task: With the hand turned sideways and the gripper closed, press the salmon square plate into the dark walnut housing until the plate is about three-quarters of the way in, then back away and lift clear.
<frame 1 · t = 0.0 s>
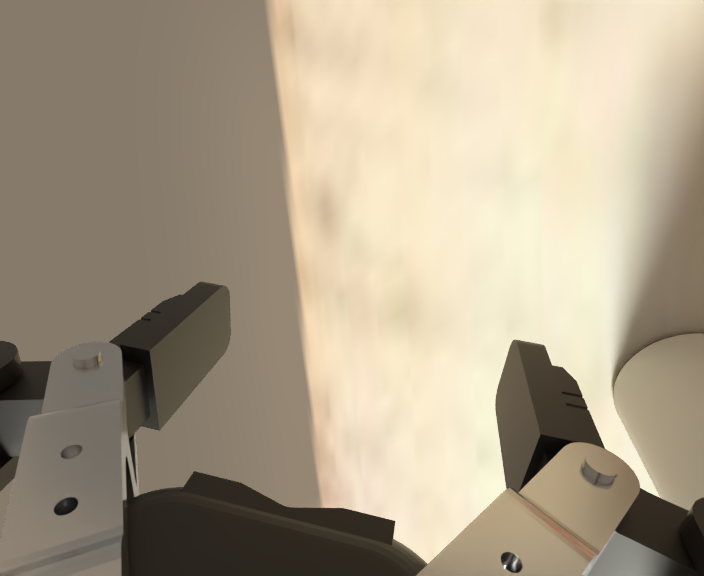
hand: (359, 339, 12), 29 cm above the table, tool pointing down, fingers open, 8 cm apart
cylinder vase: (682, 385, 42), on the table
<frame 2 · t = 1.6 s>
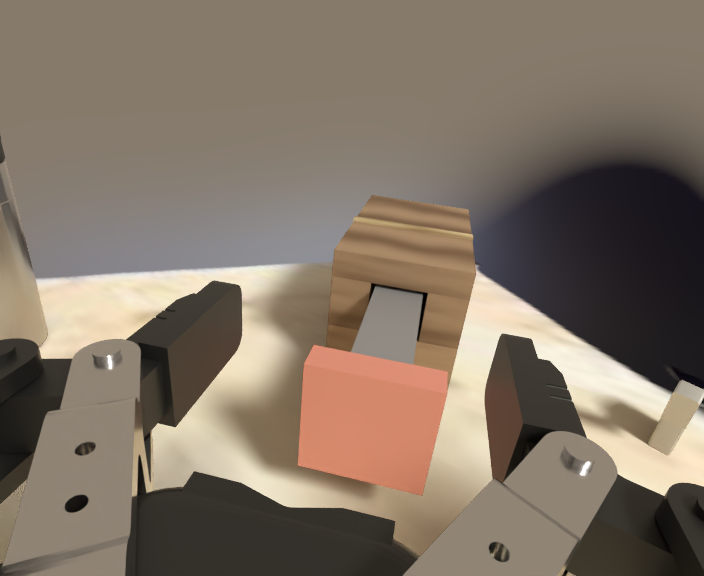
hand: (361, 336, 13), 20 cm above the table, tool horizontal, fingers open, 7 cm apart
lighter: (658, 448, 39), on the table
salmon square plate: (387, 342, 35), point 8 cm above the table, slide at 0.0 cm
housing: (395, 331, 52), on the table
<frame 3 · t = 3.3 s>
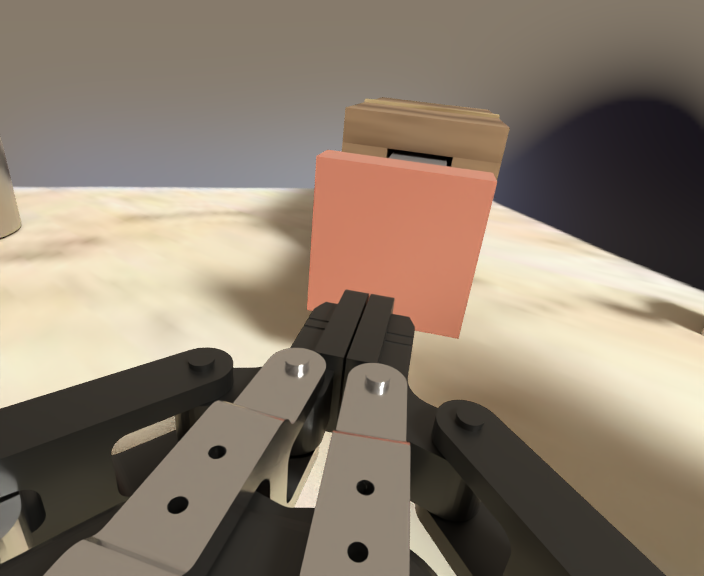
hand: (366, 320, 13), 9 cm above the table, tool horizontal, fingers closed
salmon square plate: (409, 201, 30), point 8 cm above the table, slide at 0.0 cm
housing: (409, 239, 47), on the table
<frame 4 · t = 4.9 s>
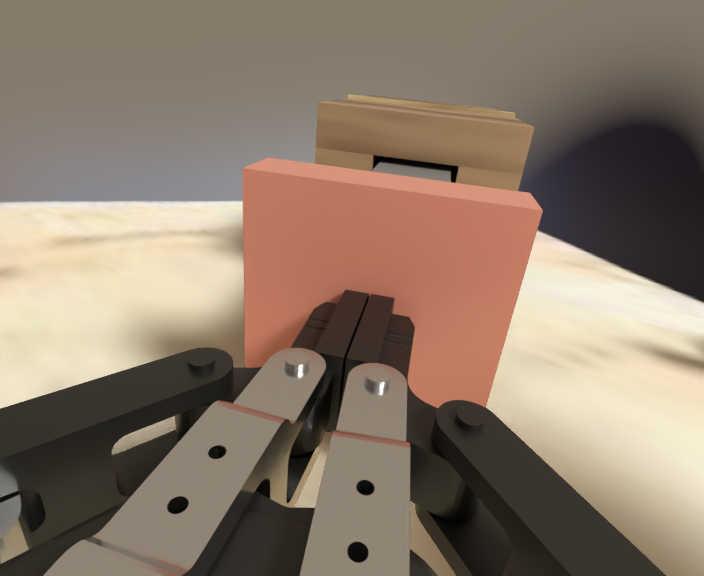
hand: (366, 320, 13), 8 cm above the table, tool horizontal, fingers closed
salmon square plate: (401, 225, 22), point 8 cm above the table, slide at 0.1 cm, touching gripper
housing: (404, 264, 39), on the table
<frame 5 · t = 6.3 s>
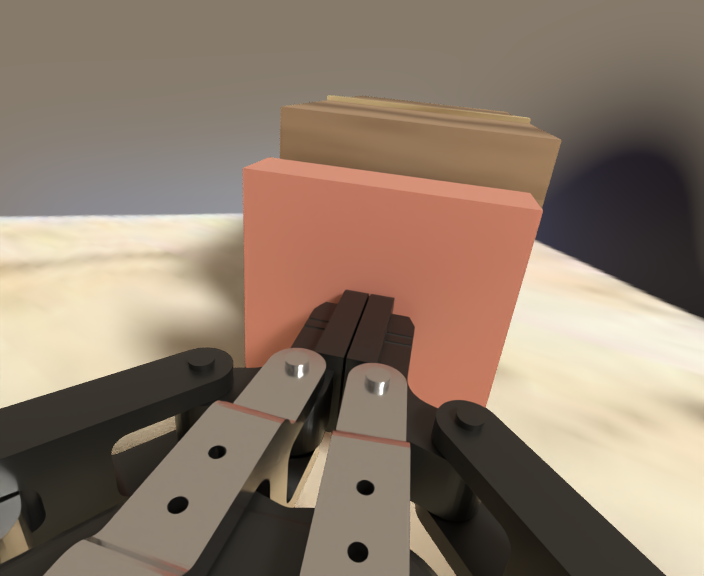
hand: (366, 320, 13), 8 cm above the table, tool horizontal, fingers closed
salmon square plate: (401, 225, 22), point 8 cm above the table, slide at 6.4 cm, touching gripper
housing: (397, 294, 33), on the table
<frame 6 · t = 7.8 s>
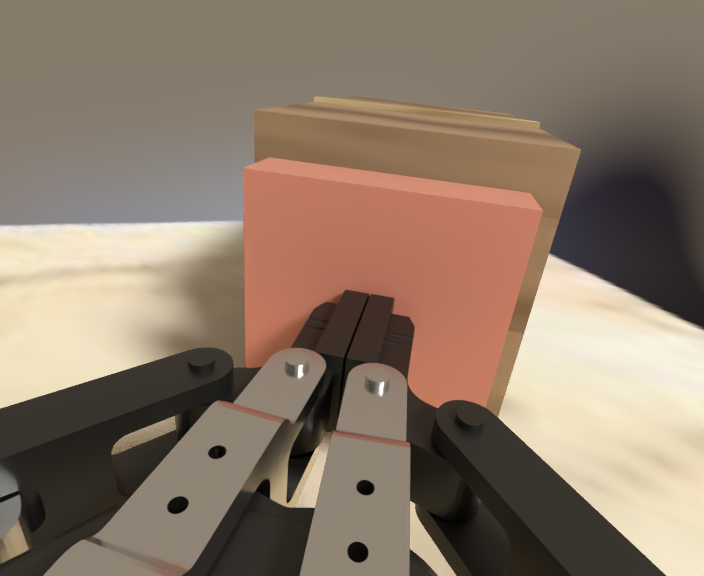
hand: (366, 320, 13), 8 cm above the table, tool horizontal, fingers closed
salmon square plate: (401, 225, 22), point 8 cm above the table, slide at 9.4 cm, touching gripper
housing: (393, 312, 31), on the table
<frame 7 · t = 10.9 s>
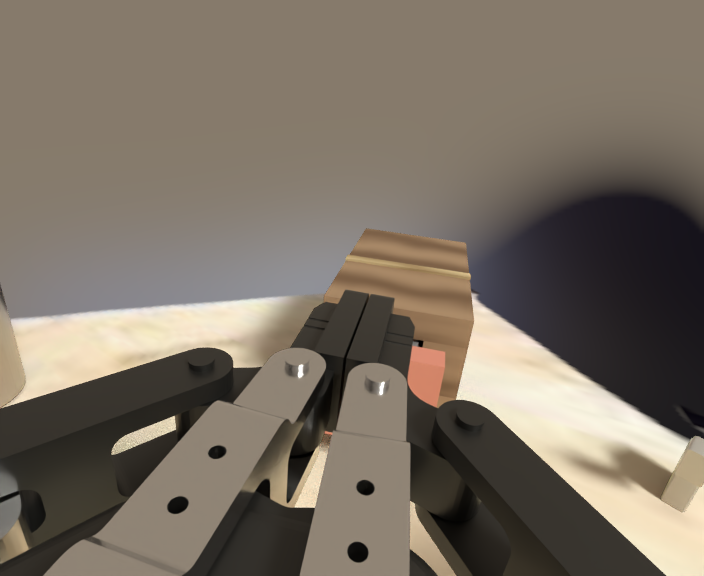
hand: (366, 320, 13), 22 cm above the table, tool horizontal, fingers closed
lighter: (672, 504, 36), on the table
salmon square plate: (395, 335, 41), point 8 cm above the table, slide at 9.4 cm
housing: (391, 371, 49), on the table
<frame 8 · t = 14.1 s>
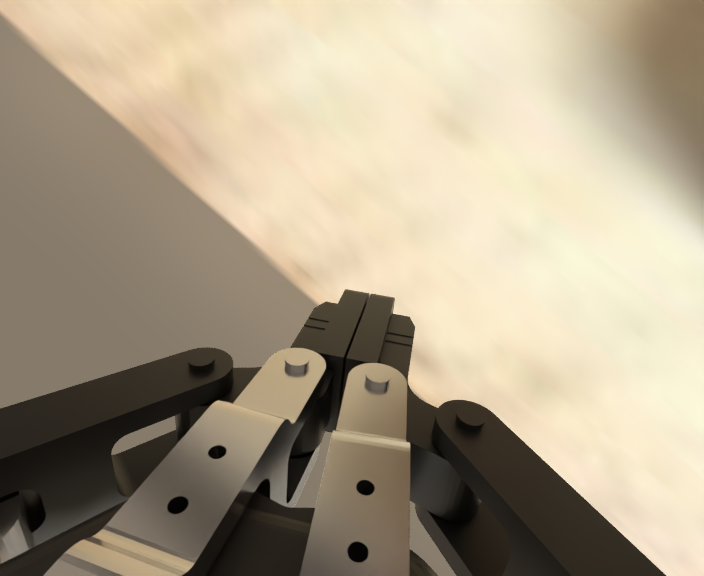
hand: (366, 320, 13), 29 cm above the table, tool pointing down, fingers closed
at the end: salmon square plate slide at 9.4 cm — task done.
